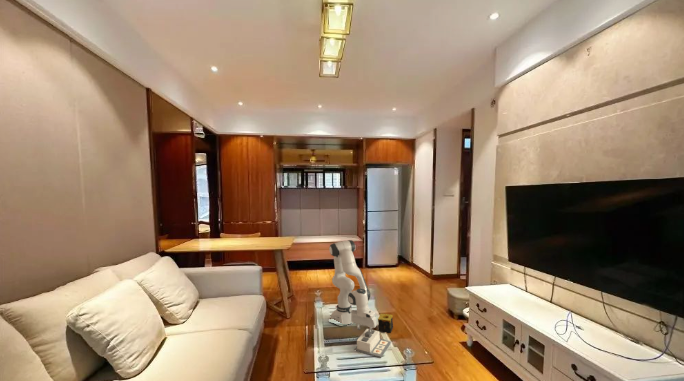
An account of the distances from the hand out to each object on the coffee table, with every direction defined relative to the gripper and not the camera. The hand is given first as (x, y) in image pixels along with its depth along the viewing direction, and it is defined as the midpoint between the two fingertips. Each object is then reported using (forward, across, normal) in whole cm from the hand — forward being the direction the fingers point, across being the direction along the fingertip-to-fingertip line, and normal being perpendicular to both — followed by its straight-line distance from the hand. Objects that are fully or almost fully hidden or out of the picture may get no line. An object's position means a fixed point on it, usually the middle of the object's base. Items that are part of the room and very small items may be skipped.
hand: (364, 330), depth 190 cm
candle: (+8, +7, +22) cm, 24 cm away
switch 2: (+5, +5, -4) cm, 8 cm away
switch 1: (+6, +6, -9) cm, 12 cm away
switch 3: (+6, +5, +2) cm, 8 cm away
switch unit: (+8, +8, -4) cm, 12 cm away
